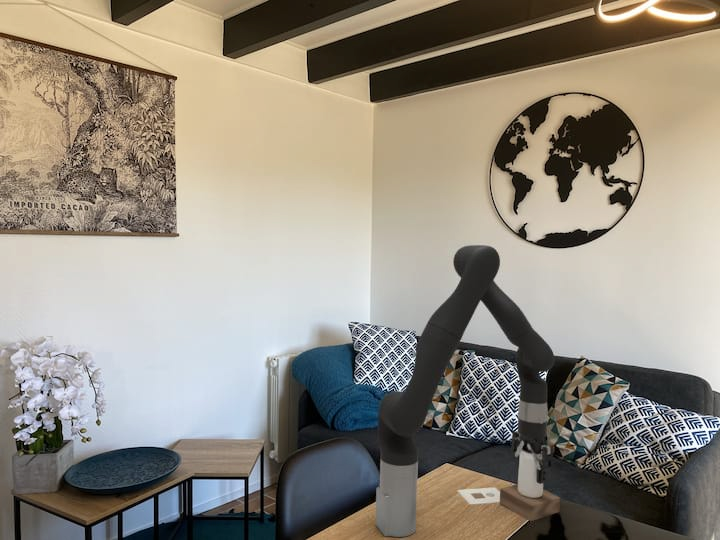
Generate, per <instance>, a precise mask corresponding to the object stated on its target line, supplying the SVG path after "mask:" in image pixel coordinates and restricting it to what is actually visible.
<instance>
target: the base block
mask: <svg viewBox="0 0 720 540" xmlns="http://www.w3.org/2000/svg"><path fill="white" fill-rule="evenodd" d="M499 491H500V503H499V504H500V505H502V506H504V508H507V509H509V510H510V511H512V512H514V513H516V514H517V515H519V516H521V517H522V518H524V519H526V520H528V521H530V522H533V521H536V520H539V519H542V518H546V517H549V516H551V515H554V514H558V513H560V508H561V497H560V496H558V495H556V494H554V493H552V492H550V491H548V490H546V489H544V488H543V494H542V496H541V497H539V498H528V497H525V496H522V495H521V494H520V493H519V492H518V483H517V484H513V485H510V486H506V487H502V488H500V490H499Z"/></svg>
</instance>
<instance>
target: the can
mask: <svg viewBox="0 0 720 540" xmlns="http://www.w3.org/2000/svg"><path fill="white" fill-rule="evenodd" d="M532 454H533V453H530V451H527V450H526V449H524V448H522V451H521V452H520V458H519V471H518V475H517V476H518V478H517V484H518V492H519V493H520V494H521V495H522V496H525V497H528V498H539V497H541V496H542V494H543V489H544V483H542V484H539V483H537V469H538V468H537V465H536V462H535V461H534V459H533V455H532ZM536 456H537V457H542V453H540V454H536ZM539 461H540V463H541V465H542V460H539Z"/></svg>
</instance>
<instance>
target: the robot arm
mask: <svg viewBox="0 0 720 540" xmlns="http://www.w3.org/2000/svg"><path fill="white" fill-rule="evenodd" d="M453 256H454V257H453V267H454V270H455V272H456V273H457V276H459V277H460V280H459V282H458V285H457V286H456V287H455V289H454V291H453V292H452V293H451V294H450V295H449V297H448V298H447V299H446V300H445V301H444V302H443V303H442V304H441V305H440V306H439V307H438V308H437V309H436V310H435V311H434V312H433V314H432V315H431V316H430V317H429V319H428V321H427V323H426V325H425V326H424V328H423V331H422V333H420V337H419V340H418V342H417V347H416V353H415V358H414V359H415V360H414V366H413V371H412V374H411V376H410V379H409V381H408V384H407V385H406V386H405V390H404V391H400V390H399V391H397V390H395V391H391V392H389V393H387V394H385V396H383V397H382V399H381V401H380V403H379V407H378V411H377V412H378V413H377V414H378V415H377V425H378V426H377V436H378V437H377V439H378V440H377V441H378V447H379V451H380V464H379V468H380V469H379V486H377V487H376V494H375V495H376V496H375V521H374V522H375V526H376V527H377V528H378V530H379V531H380V532H381V533H382V534H383V536H384V537H394V538H397V537H398V538H402V537H403V538H404V537H407V536H411V535H413V534H414V533H415V532H416V528H417V504H418V503H417V502H418V501H417V500H418V499H417V498H418V497H417V496H418V471H419V470H418V469H419V468H418V467H419V449H418V447H417V444H416V443H415V442H416V441H415V440H414V439H415V438H414V435H415V434H416V433H418V432H419V430H420V429H421V428H422V427H423V425H424V422H425V421H426V418H427V415H428V413H429V410H430V407H431V404H432V403H433V400H434V396H435V393H436V392H437V388H438V386H439V385H440V382H441V381H442V379H443V377H444V375H445V373H446V370H447V368H448V366H449V364H450V361H451V360H452V358H453V356H454V354H455V353H456V350H457V349H458V346H459V344H460V343H461V340H462V338H463V336H464V334H465V331H466V329H467V327H468V325H469V323H470V322H471V320H472V317H473V316H474V315H475V314H474V313H475V312H476V309H477V308H478V306H479V304H480V302H482V304H483V305H484V306H485V307H486V309H487V310H488V312H489V313H490V314H491V316H492V318H494V320H495V322H496V323H497V324H498V326H499V327H500V329H501V331H502V332H503V334H504V335H505V337H506V339H507V340H508V341H509V342H510V343H511V344H512V345H514V346H516V347H517V350H516V353H515V364H516V369H517V374H518V375H517V376H518V379H519V383H520V386H519V403H518V413H517V430H515V431H512V432H511V445H510V446H511V447H510V451H511V453H514V456H515V457H516V458H515V461H516V463H515V468H516V471H518V472H519V458H520V452H521V451H522V448H524V449H526V450H527V451H530V453H533V454H532V455H533V459H534V461H535V462H536V465H537V468H538V469H537V483H539V484H542V483H543V484H545V483H546V480H547V471H548V470H553V468H554V465H553V464H554V453H553V451H554V448H553V446H552V445H546V444H545V441H544V440H545V439H546V437H547V434H548V415H549V414H548V411H549V410H548V383H547V382H546V380H544V378H542V377H541V376H540V373H546V372H548V371H550V370H551V369H552V368H553V366H554V364H555V354H554V352H553V350H552V348H551V346H550V345H549V344H548V343H547V341H546V340H544V338H543V337H542V336H541V335H540V334H539V333H538V332H537V331H536V330H535V329H534V328H533V326H532V325H531V323H530V322H529V319H527V317H526V315H525V313H524V312H523V310H522V309H521V308H520V307H519V305H517V304H516V302H515V301H514V300H513V299H512V298H510V297H509V295H507V294H506V293H505V292H504V291H503V290H502V289H501V288H500V287H499V286H498V284H497V283H496V282H495V281H494V280H495V278H496V276H497V275H498V272H499V271H500V270H499V269H500V267H501V258H500V255H499V252H498V251H497V249H495V247H492V246H490V245H486V244H485V245H484V244H482V245H479V244H478V245H476V244H475V245H473V244H471V245H470V244H469V245H464V246H462V247H461V248H459V249H458V250H457V251H456V252H455V254H454V255H453ZM540 453H542V457H537V456H536V454H540ZM539 460H542V465H541V463H540V461H539Z"/></svg>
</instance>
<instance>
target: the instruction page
mask: <svg viewBox="0 0 720 540" xmlns="http://www.w3.org/2000/svg"><path fill="white" fill-rule="evenodd" d="M456 492H458V494H459V495H460V496H461V498H463V499H464V500H465V501H466V502H467V503H468V504H469V505H470V506H473V505H485V504H500V490H499V489H497V487H495V486H494V487H482V488H471V489H469V488H467V489H458V490H456Z"/></svg>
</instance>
